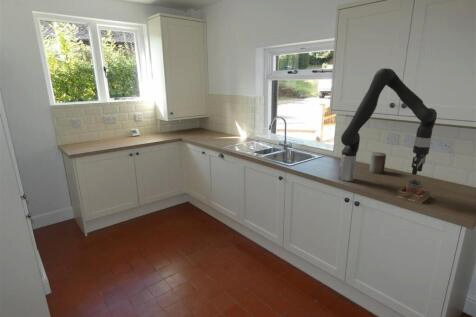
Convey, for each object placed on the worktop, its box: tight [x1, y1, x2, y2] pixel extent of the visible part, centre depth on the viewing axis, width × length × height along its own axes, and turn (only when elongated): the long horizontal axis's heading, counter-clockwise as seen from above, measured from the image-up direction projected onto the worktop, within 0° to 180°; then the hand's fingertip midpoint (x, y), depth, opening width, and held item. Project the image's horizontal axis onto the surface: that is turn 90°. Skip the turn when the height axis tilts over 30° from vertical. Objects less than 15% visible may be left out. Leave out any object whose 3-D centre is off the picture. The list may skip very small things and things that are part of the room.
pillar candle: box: [369, 151, 387, 175], centre depth 209 cm, size 10×10×15 cm
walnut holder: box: [396, 185, 431, 204], centre depth 166 cm, size 13×13×4 cm
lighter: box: [406, 178, 424, 196], centre depth 165 cm, size 8×3×10 cm, turn 45°
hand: (416, 172), depth 163 cm, fingers open, 8 cm apart
